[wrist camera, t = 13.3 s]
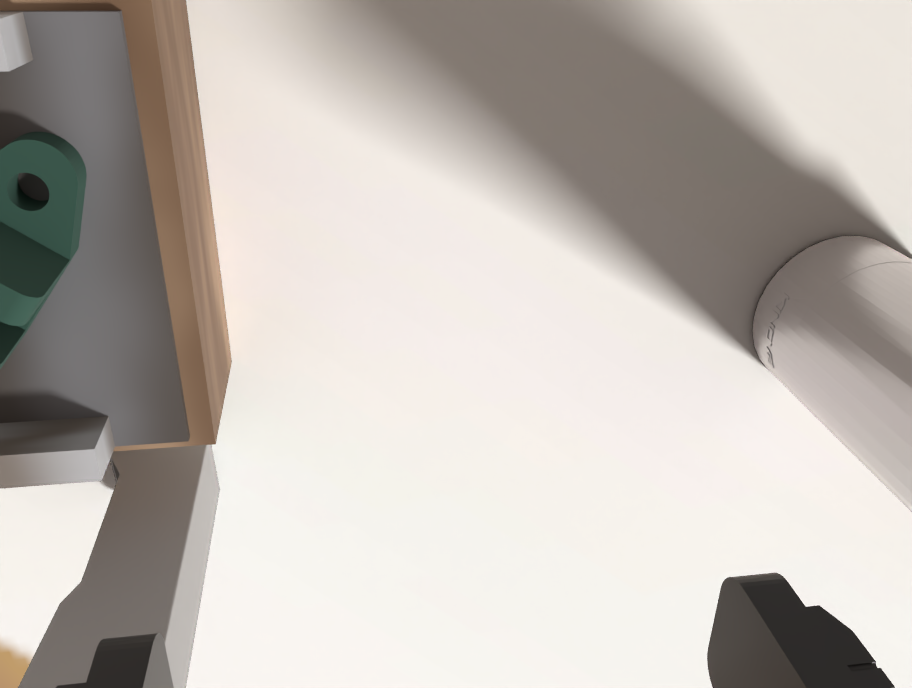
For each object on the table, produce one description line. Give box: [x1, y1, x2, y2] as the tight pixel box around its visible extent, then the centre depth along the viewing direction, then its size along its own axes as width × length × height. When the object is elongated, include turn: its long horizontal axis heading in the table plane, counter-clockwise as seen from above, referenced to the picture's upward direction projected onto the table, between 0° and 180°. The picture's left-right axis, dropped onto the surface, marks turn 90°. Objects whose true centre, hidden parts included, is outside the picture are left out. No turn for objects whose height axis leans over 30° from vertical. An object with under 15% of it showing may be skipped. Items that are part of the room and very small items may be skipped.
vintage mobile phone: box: [18, 445, 220, 688], centre depth 33 cm, size 4×5×25 cm
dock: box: [0, 0, 232, 488], centre depth 33 cm, size 14×18×10 cm
